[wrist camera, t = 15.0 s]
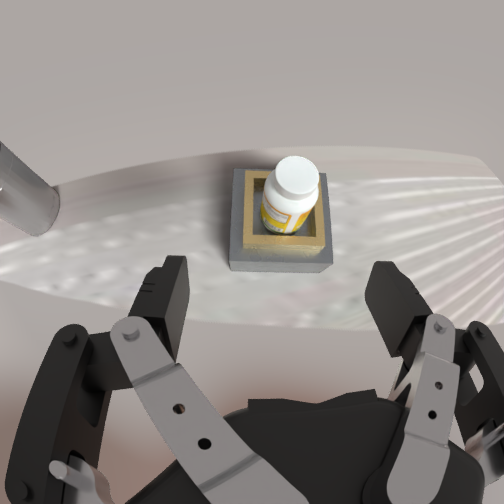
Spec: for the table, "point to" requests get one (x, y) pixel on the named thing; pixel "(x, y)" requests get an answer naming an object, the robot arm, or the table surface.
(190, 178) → the table surface
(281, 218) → the supplement bottle
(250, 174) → the gold-rimmed square tray
